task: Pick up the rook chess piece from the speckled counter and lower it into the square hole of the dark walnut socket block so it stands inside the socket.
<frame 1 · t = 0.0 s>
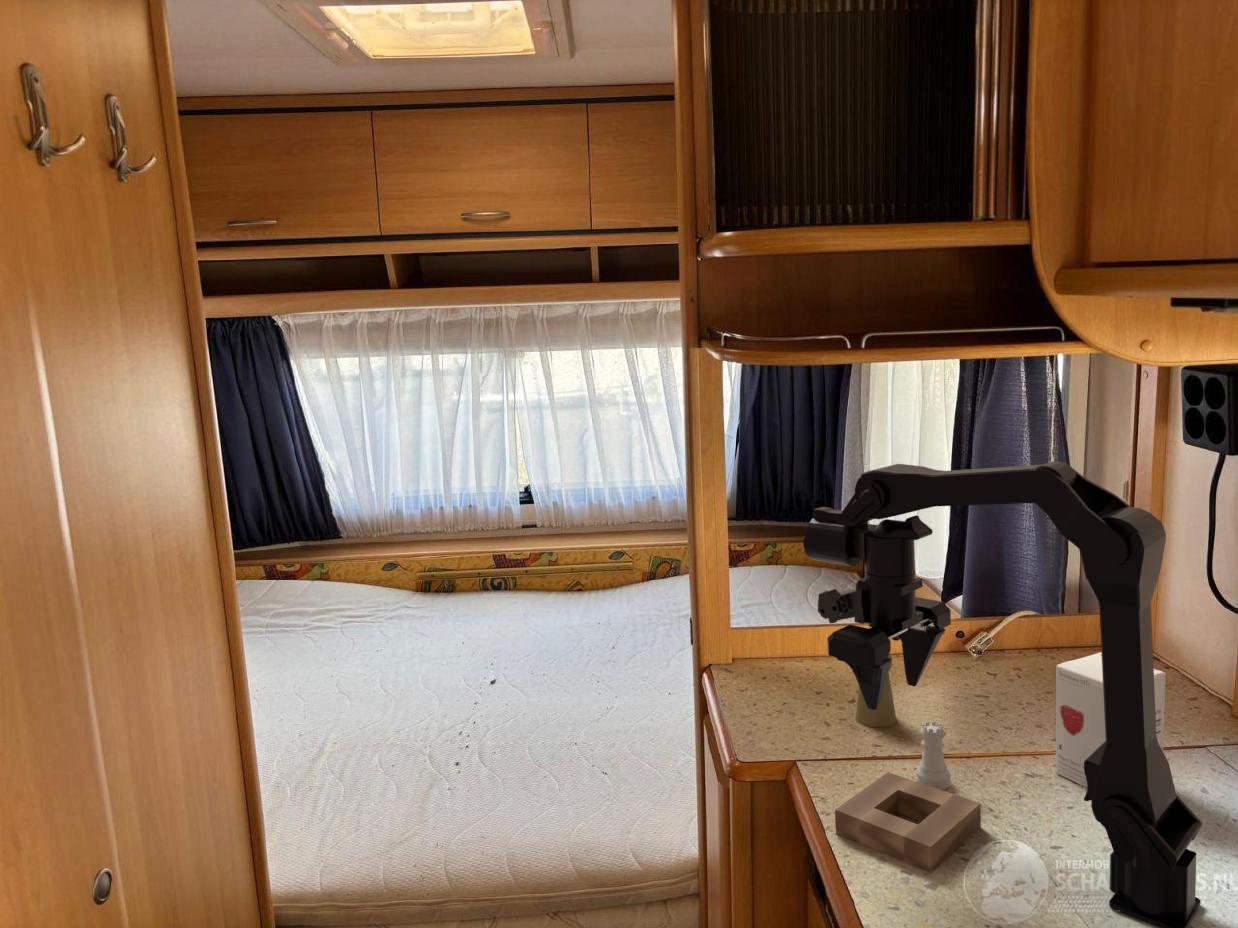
hand: (892, 696, 107), 15 cm above the counter, fingers open, 9 cm apart
cork: (875, 720, 135), on the counter
supplement box: (1108, 780, 113), on the counter
rook chess piece: (933, 785, 114), on the counter
walnut socket: (908, 830, 104), on the counter
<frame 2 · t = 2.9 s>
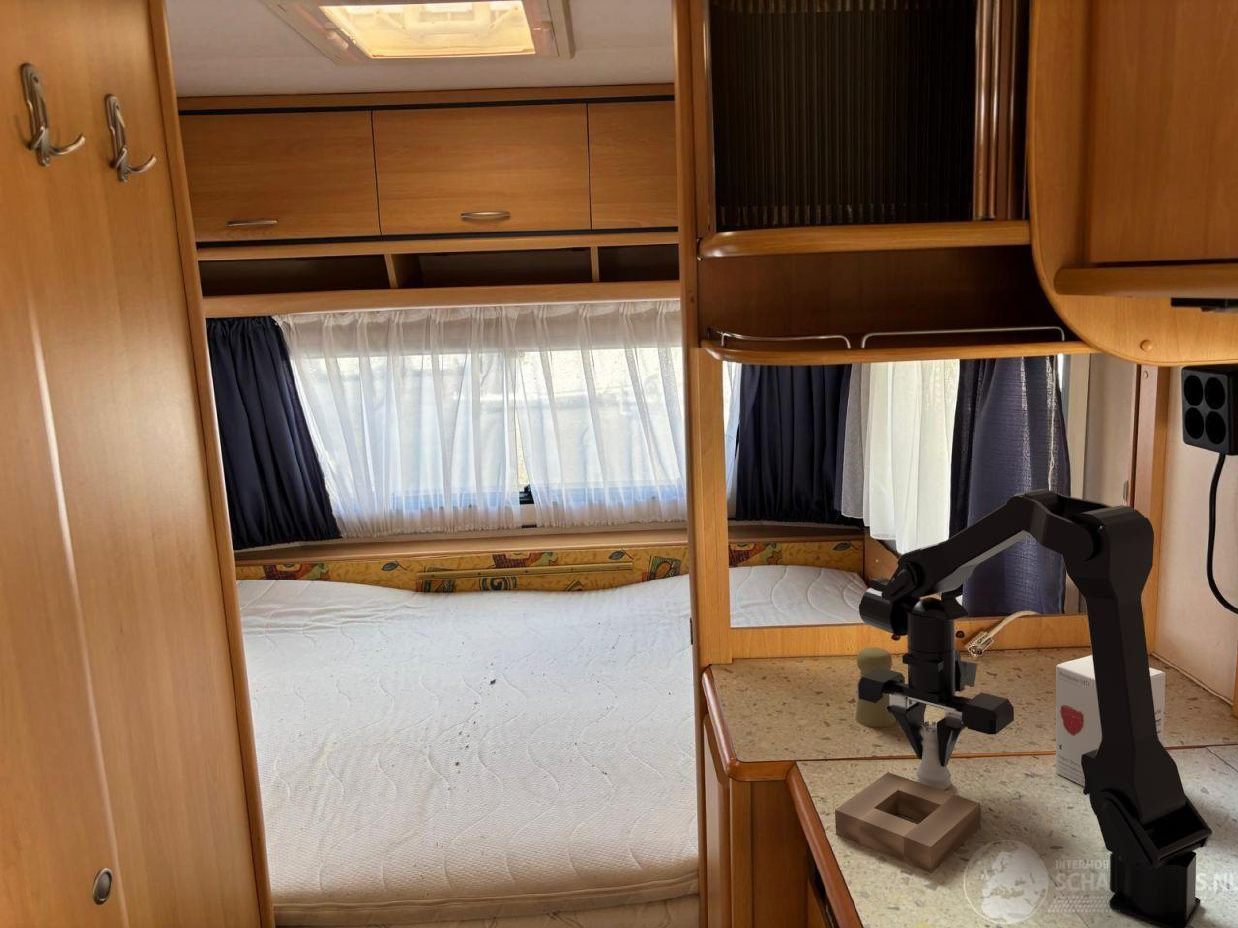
hand: (933, 761, 114), 3 cm above the counter, fingers closed on rook chess piece, 3 cm apart
rook chess piece: (933, 785, 114), on the counter, touching gripper
everything else where it was.
when the fingers open (4 cm above the counter, at t = 9.0 s): rook chess piece drops 1 cm, resting in walnut socket.
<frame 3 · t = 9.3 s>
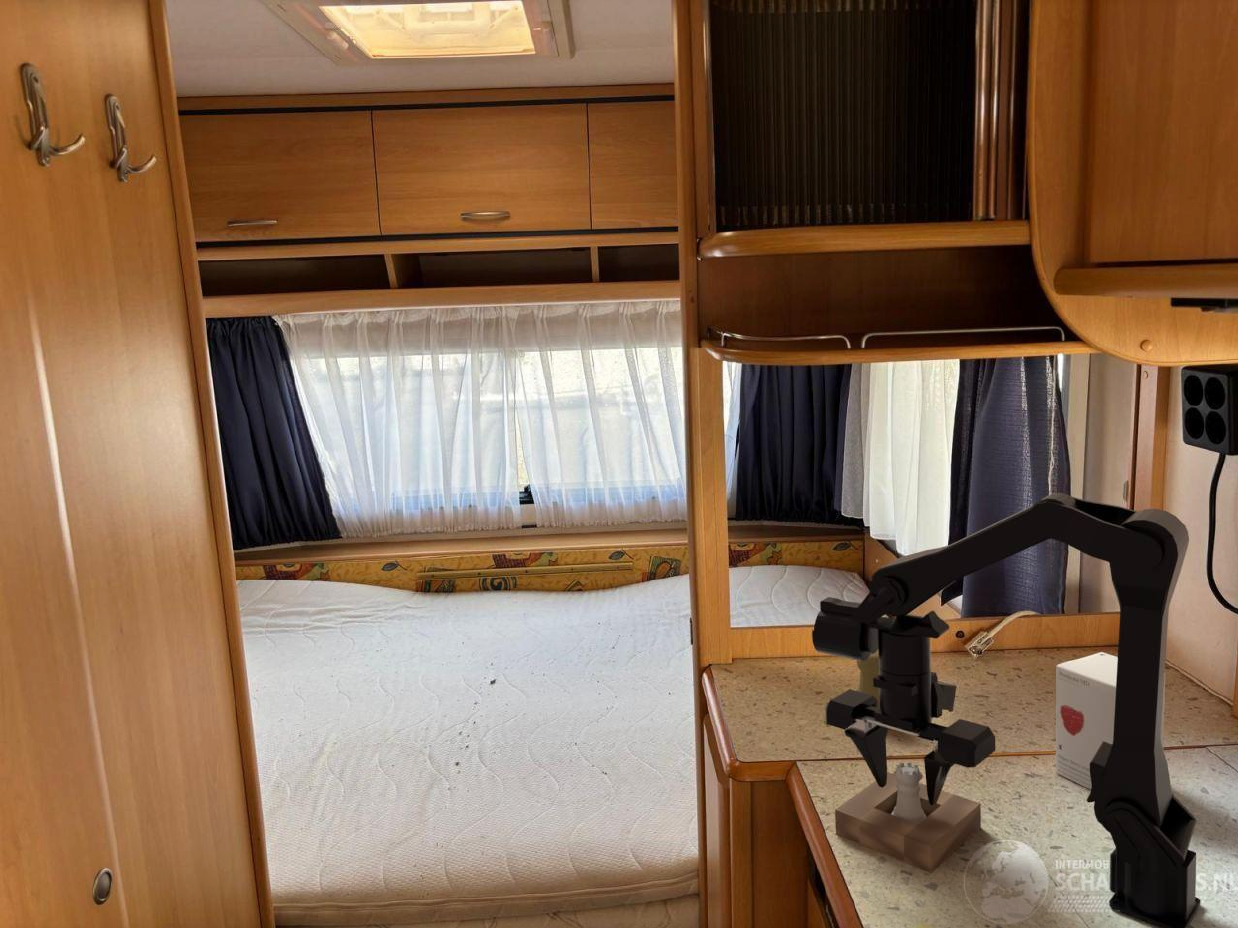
hand: (907, 794, 103), 4 cm above the counter, fingers open, 6 cm apart
rook chess piece: (909, 832, 104), resting in walnut socket
everything else where it was.
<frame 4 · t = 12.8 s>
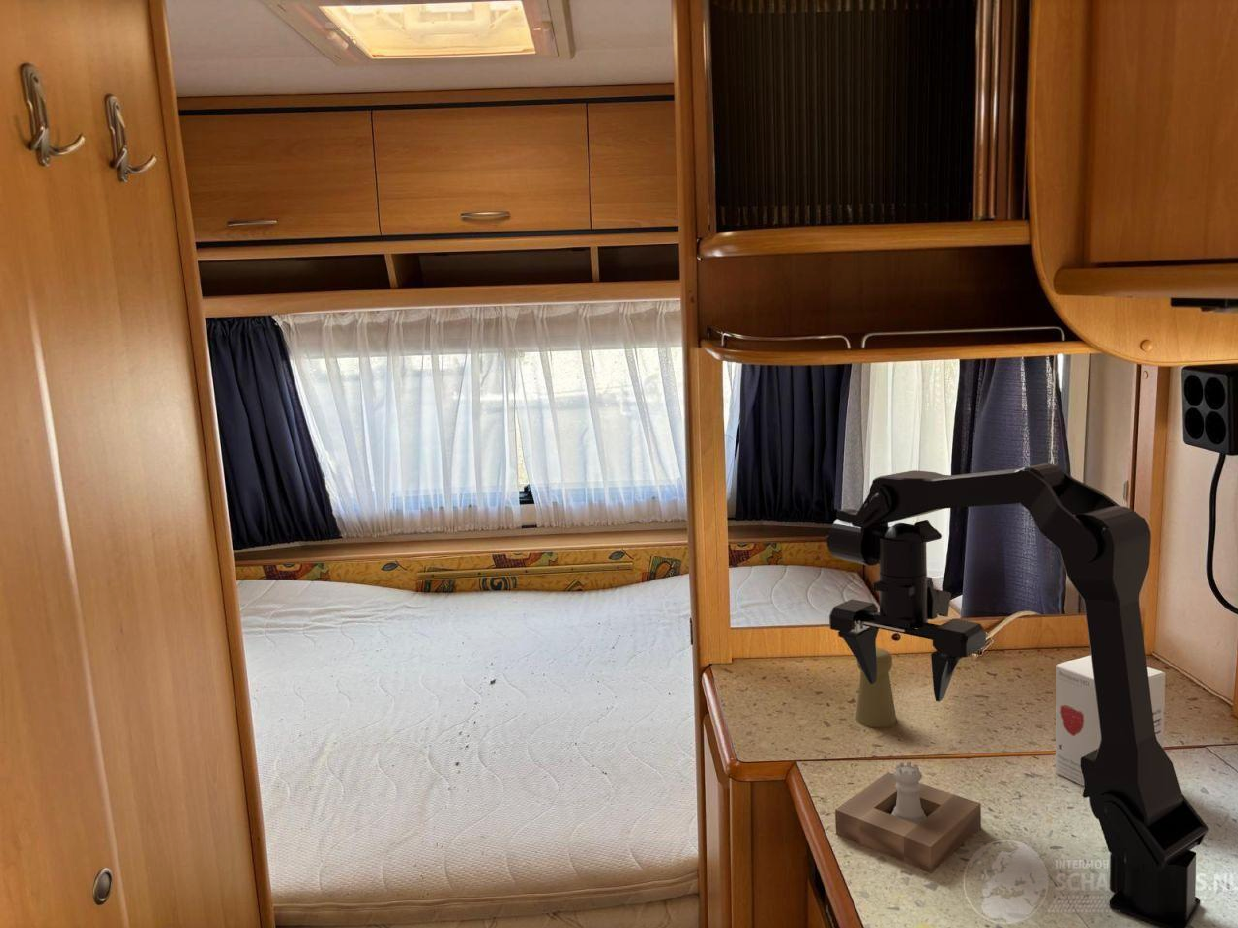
hand: (905, 691, 112), 13 cm above the counter, fingers open, 9 cm apart
nothing on the counter moved.
at the end: rook chess piece 0.1 cm off-centre on the walnut socket, point 0.0 cm above the walnut socket's base; rook chess piece tilted 0°; the gripper is holding nothing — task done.
